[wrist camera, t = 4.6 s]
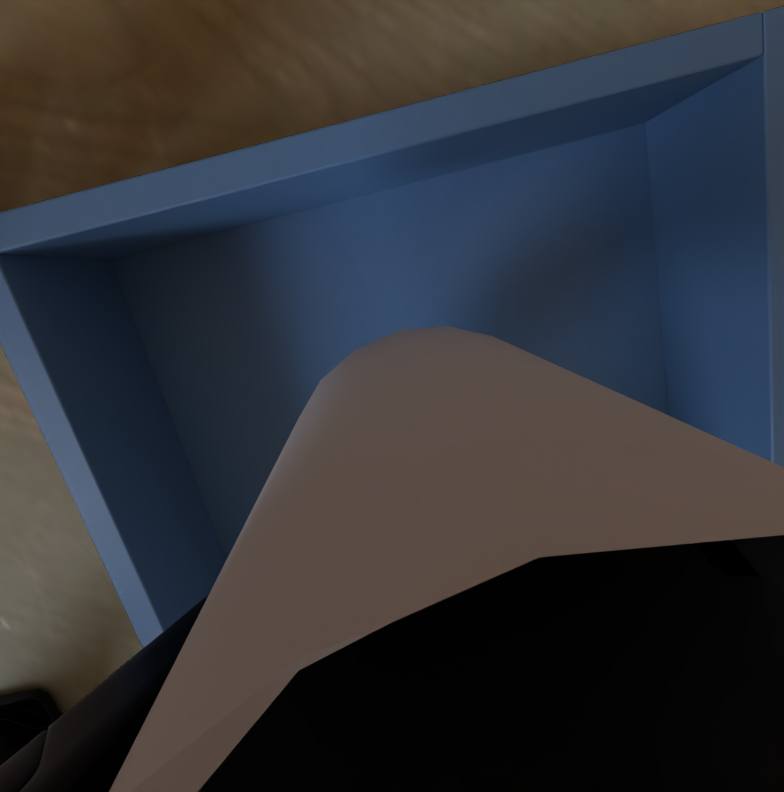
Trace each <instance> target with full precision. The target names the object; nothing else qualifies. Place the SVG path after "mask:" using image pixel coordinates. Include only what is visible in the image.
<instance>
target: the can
mask: <svg viewBox="0 0 784 792" xmlns="http://www.w3.org/2000/svg"><path fill="white" fill-rule="evenodd" d="M723 540H730V541H731V542H732V543H733V544H734V545H735V547H736V548H737V549H738V550H739V551H740V552H741V554H742V555H743V556H744V557H745V558H746V560H747V561H748V562H749V563H750V564H751V566H752V567H753V568H754V569H755V570H756V571H757V573H758V574H759V575H760V576H733V575H729V574H724V573H722V572H721V571H720V570H719V569H717V568H716V567H715V566H714V565H713V564H712V563H711V562H710V561H709V560H708V559H707V558H706V557H705V555H704V554H703V553H702V552H701V551H700V550H699V549H698V548H697V547H696V546H695V545H694V543H701V542H712V541H723ZM109 792H784V467H782V466H779V465H777V464H775V463H773V462H771V461H768V460H766V459H764V458H762V457H760V456H757V455H755V454H753V453H751V452H748V451H746V450H744V449H742V448H740V447H737V446H735V445H733V444H731V443H728V442H726V441H724V440H722V439H720V438H717V437H715V436H713V435H711V434H709V433H706V432H704V431H702V430H700V429H697V428H695V427H693V426H691V425H689V424H686V423H684V422H682V421H680V420H677V419H675V418H673V417H671V416H669V415H666V414H664V413H662V412H660V411H657V410H655V409H653V408H651V407H649V406H646V405H644V404H642V403H640V402H638V401H635V400H633V399H631V398H629V397H626V396H624V395H622V394H620V393H618V392H615V391H613V390H611V389H609V388H606V387H604V386H602V385H600V384H598V383H595V382H593V381H591V380H589V379H587V378H584V377H582V376H580V375H578V374H575V373H573V372H571V371H569V370H567V369H564V368H562V367H560V366H558V365H555V364H553V363H551V362H549V361H547V360H544V359H542V358H540V357H538V356H536V355H533V354H531V353H529V352H527V351H524V350H522V349H520V348H518V347H516V346H513V345H511V344H509V343H507V342H504V341H502V340H500V339H498V338H496V337H493V336H489V335H485V334H481V333H476V332H472V331H468V330H463V329H459V328H455V327H450V326H440V327H429V328H419V329H408V330H399V331H397V332H394V333H392V334H390V335H388V336H385V337H383V338H381V339H378V340H376V341H374V342H371V343H369V344H367V345H364V346H362V347H360V348H358V349H355V350H354V351H353V352H352V353H351V354H350V355H349V356H347V357H346V358H345V359H344V360H343V361H342V362H341V363H339V364H338V365H337V366H336V367H335V368H334V369H333V370H332V371H330V372H329V373H328V374H327V375H326V376H325V377H324V378H323V379H321V380H320V382H319V384H318V385H317V387H316V389H315V391H314V392H313V394H312V396H311V398H310V399H309V401H308V403H307V405H306V406H305V408H304V410H303V411H302V413H301V415H300V417H299V418H298V420H297V422H296V424H295V426H294V428H293V430H292V432H291V434H290V436H289V438H288V440H287V442H286V444H285V446H284V448H283V450H282V452H281V454H280V456H279V458H278V460H277V462H276V464H275V466H274V468H273V470H272V471H271V473H270V475H269V477H268V479H267V481H266V483H265V485H264V487H263V489H262V491H261V493H260V495H259V497H258V499H257V501H256V503H255V505H254V507H253V509H252V511H251V513H250V515H249V517H248V519H247V521H246V523H245V525H244V527H243V529H242V531H241V533H240V535H239V537H238V538H237V540H236V542H235V544H234V546H233V548H232V550H231V552H230V554H229V556H228V558H227V560H226V562H225V564H224V566H223V568H222V570H221V572H220V574H219V576H218V578H217V580H216V582H215V584H214V586H213V588H212V590H211V592H210V594H209V596H208V598H207V600H206V602H205V604H204V606H203V607H202V609H201V611H200V613H199V615H198V617H197V619H196V621H195V623H194V625H193V627H192V629H191V631H190V633H189V635H188V637H187V639H186V641H185V643H184V645H183V647H182V649H181V651H180V653H179V655H178V657H177V659H176V661H175V663H174V665H173V667H172V669H171V671H170V673H169V674H168V676H167V678H166V680H165V682H164V684H163V686H162V688H161V690H160V692H159V694H158V696H157V698H156V700H155V702H154V704H153V706H152V708H151V710H150V712H149V714H148V716H147V718H146V720H145V722H144V724H143V726H142V728H141V730H140V732H139V734H138V736H137V738H136V740H135V741H134V743H133V745H132V747H131V749H130V751H129V753H128V755H127V757H126V759H125V761H124V763H123V765H122V767H121V769H120V771H119V773H118V775H117V777H116V779H115V781H114V783H113V785H112V787H111V789H110V791H109Z"/></svg>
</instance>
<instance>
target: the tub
mask: <svg viewBox="0 0 784 792" xmlns="http://www.w3.org/2000/svg"><path fill="white" fill-rule="evenodd" d="M440 326H450V327H455V328H459V329H463V330H468V331H472V332H476V333H481V334H485V335H489V336H493V337H496V338H498V339H500V340H502V341H504V342H507V343H509V344H511V345H513V346H516V347H518V348H520V349H522V350H524V351H527V352H529V353H531V354H533V355H536V356H538V357H540V358H542V359H544V360H547V361H549V362H551V363H553V364H555V365H558V366H560V367H562V368H564V369H567V370H569V371H571V372H573V373H575V374H578V375H580V376H582V377H584V378H587V379H589V380H591V381H593V382H595V383H598V384H600V385H602V386H604V387H606V388H609V389H611V390H613V391H615V392H618V393H620V394H622V395H624V396H626V397H629V398H631V399H633V400H635V401H638V402H640V403H642V404H644V405H646V406H649V407H651V408H653V409H655V410H657V411H660V412H662V413H664V414H666V415H669V416H671V417H673V418H675V419H677V420H680V421H682V422H684V423H686V424H689V425H691V426H693V427H695V428H697V429H700V430H702V431H704V432H706V433H709V434H711V435H713V436H715V437H717V438H720V439H722V440H724V441H726V442H728V443H731V444H733V445H735V446H737V447H740V448H742V449H744V450H746V451H748V452H751V453H753V454H755V455H757V456H760V457H762V458H764V459H766V460H768V461H771V462H773V463H775V464H777V465H779V466H782V467H784V6H782V7H778V8H774V9H770V10H767V11H764V12H763V13H755V14H751V15H747V16H744V17H740V18H736V19H732V20H728V21H725V22H721V23H717V24H713V25H709V26H706V27H702V28H698V29H694V30H690V31H687V32H683V33H679V34H675V35H671V36H668V37H664V38H660V39H656V40H652V41H649V42H645V43H641V44H637V45H633V46H630V47H626V48H622V49H618V50H614V51H611V52H607V53H603V54H599V55H595V56H592V57H588V58H584V59H580V60H576V61H573V62H569V63H565V64H561V65H557V66H554V67H550V68H546V69H542V70H538V71H535V72H531V73H527V74H523V75H519V76H516V77H512V78H508V79H504V80H500V81H497V82H493V83H489V84H485V85H481V86H478V87H474V88H470V89H466V90H462V91H459V92H455V93H451V94H447V95H443V96H440V97H436V98H432V99H428V100H424V101H421V102H417V103H413V104H409V105H405V106H402V107H398V108H394V109H390V110H386V111H383V112H379V113H375V114H371V115H367V116H364V117H360V118H356V119H352V120H348V121H345V122H341V123H337V124H333V125H329V126H326V127H322V128H318V129H314V130H310V131H307V132H303V133H299V134H295V135H291V136H287V137H284V138H280V139H276V140H272V141H268V142H265V143H261V144H257V145H253V146H249V147H246V148H242V149H238V150H234V151H230V152H227V153H223V154H219V155H215V156H211V157H208V158H204V159H200V160H196V161H192V162H189V163H185V164H181V165H177V166H173V167H170V168H166V169H162V170H158V171H154V172H151V173H147V174H143V175H139V176H135V177H132V178H128V179H124V180H120V181H116V182H113V183H109V184H105V185H101V186H97V187H94V188H90V189H86V190H82V191H78V192H75V193H71V194H67V195H63V196H59V197H56V198H52V199H48V200H44V201H40V202H37V203H33V204H29V205H25V206H21V207H18V208H14V209H10V210H6V211H2V212H0V344H1V346H2V348H3V350H4V353H5V355H6V357H7V359H8V361H9V363H10V365H11V367H12V370H13V372H14V374H15V376H16V378H17V380H18V382H19V385H20V387H21V389H22V391H23V393H24V395H25V397H26V399H27V402H28V404H29V406H30V408H31V410H32V412H33V414H34V416H35V419H36V421H37V423H38V425H39V427H40V429H41V431H42V434H43V436H44V438H45V440H46V442H47V444H48V446H49V448H50V451H51V453H52V455H53V457H54V459H55V461H56V463H57V466H58V468H59V470H60V472H61V474H62V476H63V478H64V480H65V483H66V485H67V487H68V489H69V491H70V493H71V495H72V497H73V500H74V502H75V504H76V506H77V508H78V510H79V512H80V515H81V517H82V519H83V521H84V523H85V525H86V527H87V529H88V532H89V534H90V536H91V538H92V540H93V542H94V544H95V547H96V549H97V551H98V553H99V555H100V557H101V559H102V561H103V564H104V566H105V568H106V570H107V572H108V574H109V576H110V578H111V581H112V583H113V585H114V587H115V589H116V591H117V593H118V596H119V598H120V600H121V602H122V604H123V606H124V608H125V610H126V613H127V615H128V617H129V619H130V621H131V623H132V625H133V628H134V630H135V632H136V634H137V636H138V638H139V640H140V642H141V645H142V647H143V648H144V647H145V646H147V645H148V644H149V643H150V642H151V641H153V640H154V639H155V638H156V637H157V636H159V635H160V634H161V633H162V632H164V631H165V630H166V629H167V628H168V627H170V626H171V625H172V624H173V623H174V622H176V621H177V620H178V619H179V618H180V617H182V616H183V615H184V614H185V613H187V612H188V611H189V610H190V609H191V608H193V607H194V606H195V605H196V604H197V603H199V602H200V601H201V600H202V599H203V598H205V597H206V596H207V595H208V594H209V593H210V592H211V590H212V588H213V586H214V584H215V582H216V580H217V578H218V576H219V574H220V572H221V570H222V568H223V566H224V564H225V562H226V560H227V558H228V556H229V554H230V552H231V550H232V548H233V546H234V544H235V542H236V540H237V538H238V537H239V535H240V533H241V531H242V529H243V527H244V525H245V523H246V521H247V519H248V517H249V515H250V513H251V511H252V509H253V507H254V505H255V503H256V501H257V499H258V497H259V495H260V493H261V491H262V489H263V487H264V485H265V483H266V481H267V479H268V477H269V475H270V473H271V471H272V470H273V468H274V466H275V464H276V462H277V460H278V458H279V456H280V454H281V452H282V450H283V448H284V446H285V444H286V442H287V440H288V438H289V436H290V434H291V432H292V430H293V428H294V426H295V424H296V422H297V420H298V418H299V417H300V415H301V413H302V411H303V410H304V408H305V406H306V405H307V403H308V401H309V399H310V398H311V396H312V394H313V392H314V391H315V389H316V387H317V385H318V384H319V382H320V380H321V379H323V378H324V377H325V376H326V375H327V374H328V373H329V372H330V371H332V370H333V369H334V368H335V367H336V366H337V365H338V364H339V363H341V362H342V361H343V360H344V359H345V358H346V357H347V356H349V355H350V354H351V353H352V352H353V351H354V350H355V349H358V348H360V347H362V346H364V345H367V344H369V343H371V342H374V341H376V340H378V339H381V338H383V337H385V336H388V335H390V334H392V333H394V332H397V331H399V330H408V329H419V328H429V327H440Z"/></svg>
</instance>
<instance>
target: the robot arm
mask: <svg viewBox="0 0 784 792" xmlns="http://www.w3.org/2000/svg"><path fill="white" fill-rule="evenodd" d="M694 545H695V546H696V547H697V548H698V549H699V550H700V551H701V552H702V553H703V554H704V555H705V557H706V558H707V559H708V560H709V561H710V562H711V563H712V564H713V565H714V566H715V567H716V568H717V569H719V570H720V571H721V572H722V573H724V574H729V575H733V576H760V575H759V574H758V573H757V571H756V570H755V569H754V568H753V567H752V566H751V564H750V563H749V562H748V561H747V560H746V558H745V557H744V556H743V555H742V554H741V552H740V551H739V550H738V549H737V548H736V547H735V545H734V544H733V543H732V542H731V541H730V540H723V541H712V542H701V543H694ZM209 594H210V593H209ZM209 594H208V595H207V596H206V597H205V598H203V599H202V600H201V601H200V602H199V603H197V604H196V605H195V606H194V607H193V608H191V609H190V610H189V611H188V612H187V613H185V614H184V615H183V616H182V617H180V618H179V619H178V620H177V621H176V622H174V623H173V624H172V625H171V626H170V627H168V628H167V629H166V630H165V631H164V632H162V633H161V634H160V635H159V636H157V637H156V638H155V639H154V640H153V641H151V642H150V643H149V644H148V645H147V646H145V647H144V648H143V649H142V650H141V651H139V652H138V653H137V654H136V655H135V656H133V657H132V658H131V659H130V660H128V661H127V662H126V663H125V664H124V665H122V666H121V667H120V668H119V669H118V670H116V671H115V672H114V673H113V674H112V675H110V676H109V677H108V678H107V679H106V680H104V681H103V682H102V683H101V684H99V685H98V686H97V687H96V688H95V689H93V690H92V691H91V692H90V693H89V694H87V695H86V696H85V697H84V698H83V699H81V700H80V701H79V702H78V703H76V704H75V705H74V706H73V707H72V708H70V709H69V710H68V711H67V712H66V713H64V714H63V715H62V716H61V714H60V712H59V711H58V709H57V707H56V705H55V703H54V702H53V700H52V698H51V696H50V695H49V694H48V693H47V692H45V691H43V690H39V689H37V690H30V691H25V692H21V693H16V694H11V695H7V696H2V697H0V792H109V791H110V789H111V787H112V785H113V783H114V781H115V779H116V777H117V775H118V773H119V771H120V769H121V767H122V765H123V763H124V761H125V759H126V757H127V755H128V753H129V751H130V749H131V747H132V745H133V743H134V741H135V740H136V738H137V736H138V734H139V732H140V730H141V728H142V726H143V724H144V722H145V720H146V718H147V716H148V714H149V712H150V710H151V708H152V706H153V704H154V702H155V700H156V698H157V696H158V694H159V692H160V690H161V688H162V686H163V684H164V682H165V680H166V678H167V676H168V674H169V673H170V671H171V669H172V667H173V665H174V663H175V661H176V659H177V657H178V655H179V653H180V651H181V649H182V647H183V645H184V643H185V641H186V639H187V637H188V635H189V633H190V631H191V629H192V627H193V625H194V623H195V621H196V619H197V617H198V615H199V613H200V611H201V609H202V607H203V606H204V604H205V602H206V600H207V598H208V596H209Z"/></svg>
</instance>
